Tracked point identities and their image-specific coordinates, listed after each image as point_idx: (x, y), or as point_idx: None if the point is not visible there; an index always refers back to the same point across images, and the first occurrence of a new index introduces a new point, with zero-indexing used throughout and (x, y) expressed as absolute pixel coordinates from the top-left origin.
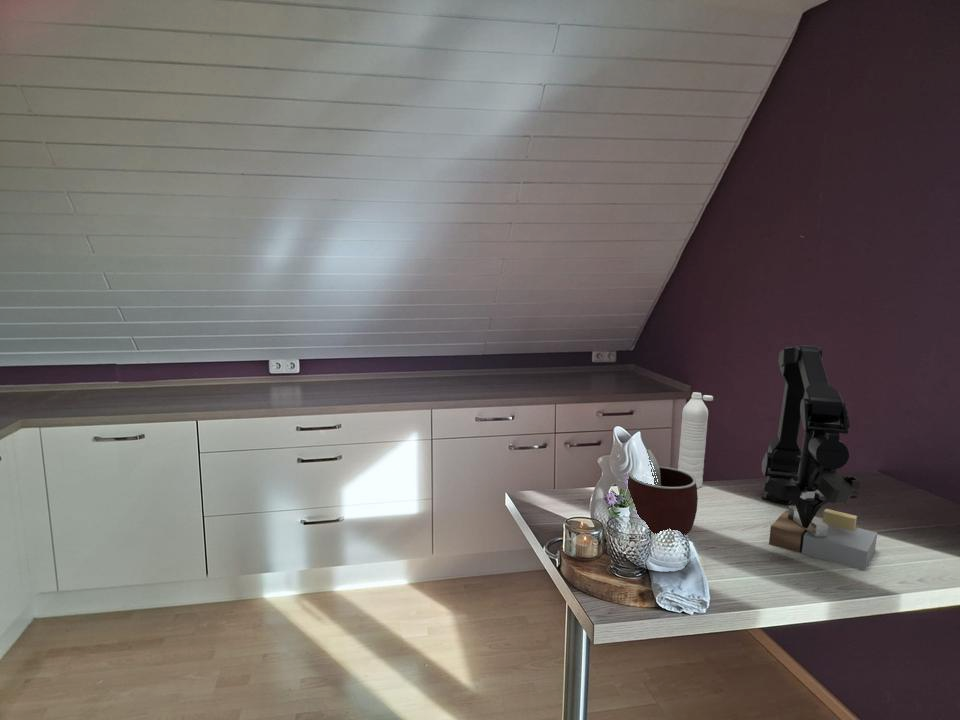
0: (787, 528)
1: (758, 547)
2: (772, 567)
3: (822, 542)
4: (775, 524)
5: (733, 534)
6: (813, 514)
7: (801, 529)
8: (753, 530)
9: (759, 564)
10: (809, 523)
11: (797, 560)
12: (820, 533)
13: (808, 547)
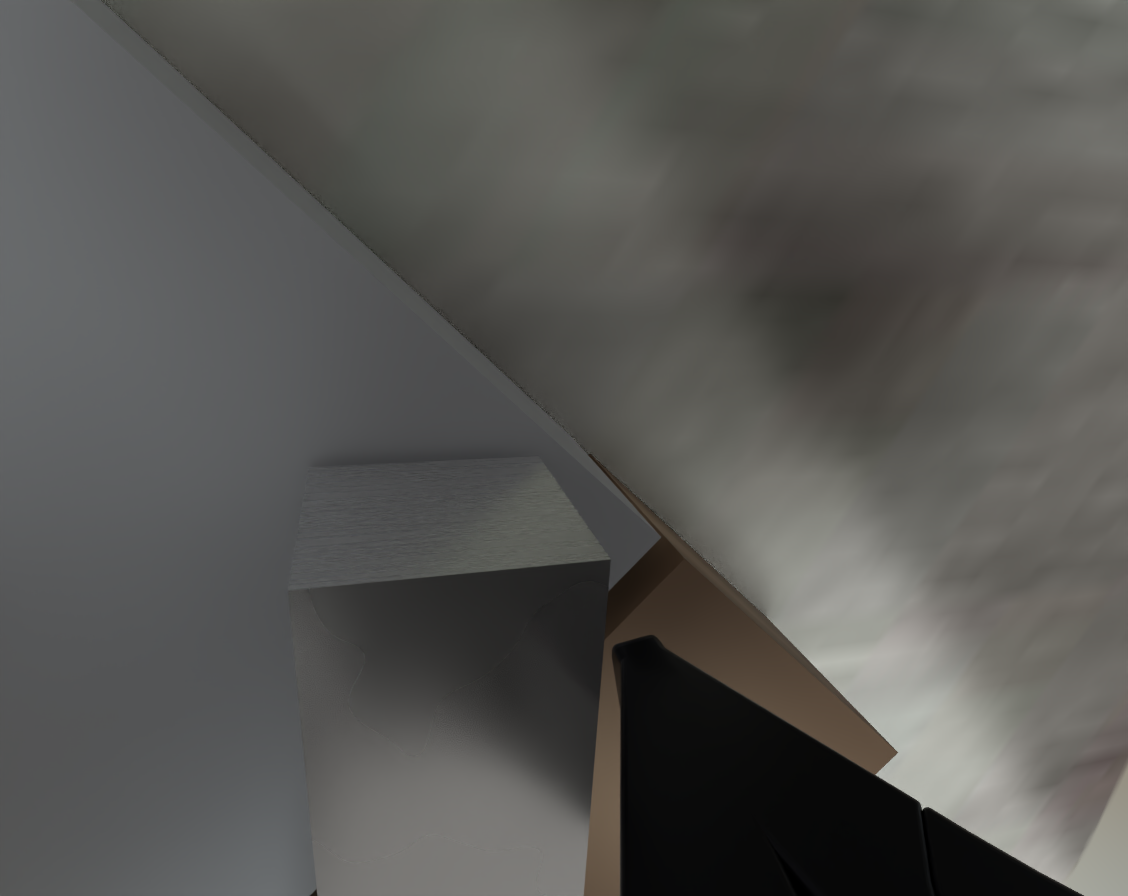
0: None
1: (896, 543)
2: (1068, 115)
3: (448, 339)
4: None
5: (920, 754)
6: (717, 881)
7: None
8: None
9: (1124, 194)
10: (640, 698)
11: (727, 261)
12: (456, 482)
13: (552, 425)
